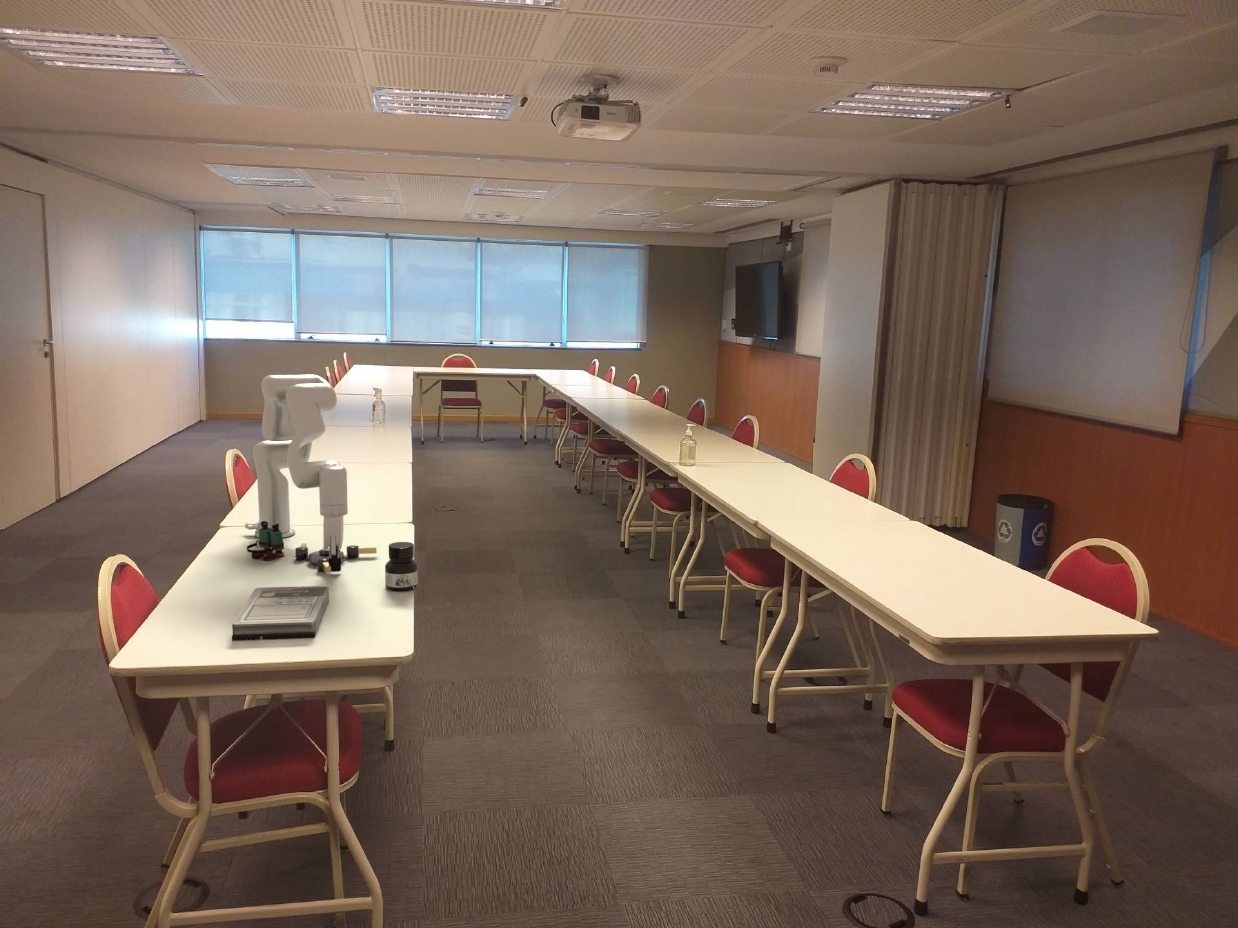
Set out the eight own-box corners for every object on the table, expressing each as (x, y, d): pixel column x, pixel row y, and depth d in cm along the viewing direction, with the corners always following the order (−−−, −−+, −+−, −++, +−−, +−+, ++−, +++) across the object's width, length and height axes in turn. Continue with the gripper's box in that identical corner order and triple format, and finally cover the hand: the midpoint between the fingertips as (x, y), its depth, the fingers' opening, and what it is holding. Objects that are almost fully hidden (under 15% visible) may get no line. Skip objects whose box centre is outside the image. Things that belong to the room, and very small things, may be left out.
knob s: (316, 569, 262) (316, 558, 261) (329, 567, 263) (329, 557, 263) (322, 577, 254) (321, 566, 253) (335, 576, 256) (334, 565, 255)
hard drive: (231, 642, 206) (230, 624, 205) (256, 604, 232) (255, 587, 232) (315, 639, 210) (314, 621, 209) (329, 601, 236) (329, 585, 235)
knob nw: (307, 560, 270) (307, 549, 269) (295, 560, 269) (294, 550, 269) (310, 552, 278) (310, 542, 278) (298, 552, 278) (297, 542, 277)
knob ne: (346, 559, 273) (346, 548, 272) (347, 555, 276) (346, 545, 276) (376, 558, 275) (376, 547, 274) (376, 554, 278) (376, 544, 278)
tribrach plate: (303, 569, 262) (302, 555, 261) (307, 558, 272) (306, 545, 272) (346, 567, 264) (345, 554, 264) (348, 556, 275) (348, 543, 275)
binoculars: (239, 528, 267) (264, 518, 275) (243, 561, 270) (269, 550, 278) (261, 532, 263) (286, 522, 272) (265, 566, 266) (290, 554, 275)
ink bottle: (382, 592, 243) (382, 549, 241) (384, 582, 252) (383, 541, 250) (419, 591, 245) (419, 548, 243) (420, 581, 254) (419, 540, 251)
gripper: (322, 503, 261) (323, 563, 264) (317, 515, 247) (319, 579, 250) (348, 502, 263) (350, 562, 266) (346, 514, 248) (347, 578, 252)
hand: (335, 570), depth 258 cm, fingers closed
